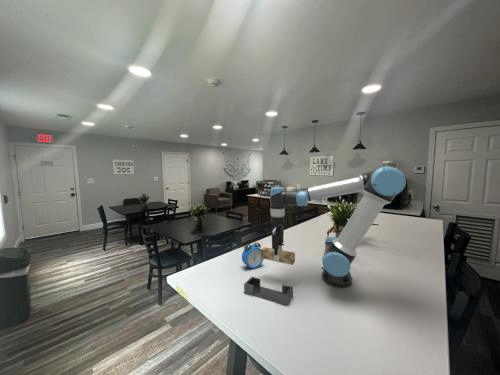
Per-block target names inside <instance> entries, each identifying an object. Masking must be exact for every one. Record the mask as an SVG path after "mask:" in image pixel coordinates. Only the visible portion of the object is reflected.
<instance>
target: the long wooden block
mask: <svg viewBox="0 0 500 375" xmlns="http://www.w3.org/2000/svg"><path fill="white" fill-rule="evenodd" d="M260 249H261V258H262V259H263V260H268V261H272V262H275V261H274V249H272V247H266V246H263V247H261V248H260ZM295 258H296V253H295V252H293V251H288V250H283V249H282V250H279V261H276V262H277V263H282V264H286V265H287V264H288V265H291V266H292V265H293V266H294V264H295V262H296V259H295Z"/></svg>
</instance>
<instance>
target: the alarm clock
mask: <svg viewBox="0 0 500 375" xmlns="http://www.w3.org/2000/svg"><path fill="white" fill-rule="evenodd" d="M261 249H262V244H261V243H259V242H254V243H252V244H251V243H250V244H249V243H248V244H245V245H244V247H243V251H242V253H241V261H242V263H243V265H245V266H246V267H247V268H249V270H251V269H257V268H259V267H260V266H261V265H262V264H263V262H264V259H262V258H261Z"/></svg>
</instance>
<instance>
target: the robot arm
mask: <svg viewBox="0 0 500 375" xmlns="http://www.w3.org/2000/svg"><path fill="white" fill-rule="evenodd" d="M406 181H407V180H406V177H405V175H404V173H403V172H402V171H401V170H400V169H398V168H396V167H393V166H382V167H379V168H376V169H373V170H371V171H368V172H365V173H361V174H359V175H358V176H355V177H352V178H346V179H342V180H337V181H333V182H329V183H323V184H318V185H314V186H309V187H305V188H299V189H297V190H285V186H284V187H282V186H274V187H271V188H270V192H269V197H270V198H269V199H270V200H269V204H270V208H269V211H270V223H271V225H273V227H272V229H271V231H270V234H271V248H272V249H274V261H273V262H277V261H279V250H283V246H284V245H285V242H284V229H285V226H284V224H285V223H286V220H285V219H286V217H285V215H286V211H285V210H286V208H285V207H286V206H290V207H291V206H292V207H293V206H296V207H307V206H308V205H309V202H312V201H317V200H323V199H328V198H333V197H339V196H345V195H350V194H355V193H361V192H362V193H363V196H362V198H361V200H360V201H359V202H358V205H357V206H356V208H355V209H354V211H353V213H352V214H351V216H350V218H349V219H348V221H347V222H346V224H345V225H344V227H343V229H342V231H341V232H340V234H339V236H328V237H326V238H325V241H324V244H325V248H324V253H323V256H322V260H321V262H322V266H323V268H322V269H323V270H322V272H321V280H322V281H323V282H324V283H326V284H328V285H330V286H332V287H336V288H348V287H350V286H351V285H352V284H353V278H352V274H351V266H352V265H351V264H352V263H353V262H354V260H355V258H356V257H357V251H356V250H357V248H358V247H359V245H360V243H361V242H362V241H363V239H364V237H365V236H366V234H367V232H368V231H369V230H370V228H371V226H372V225H373V224H374V222H375V221H376V218H378V215H379V214H380V212H382V211H381V210H382V209H383V208H384V206H385V205H388V204H391V203H392V201H393V200H394V199H395V197H396V196H397V195H399V194H400V193H401V192H403V190H404V189H405V187H406V184H407V182H406Z"/></svg>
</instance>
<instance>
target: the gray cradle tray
mask: <svg viewBox="0 0 500 375" xmlns="http://www.w3.org/2000/svg"><path fill="white" fill-rule="evenodd" d="M243 290H244V291H243V293H244V294H246V295H250V296H253V297H256V298H258V299H259V298H260V299H263V300H266V301H270V302H273V303H276V304H280V305H282V306H287V307H289V304H290V303H291V301H292V299H293V298H294V287H293V286H292V285H287V284H282V286H281V291H279V290H276V289H271V288H268V287H265V286H261V278H258V277H254V276H250V277H249V279H247V280H246V281H245V282H244V284H243Z"/></svg>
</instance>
